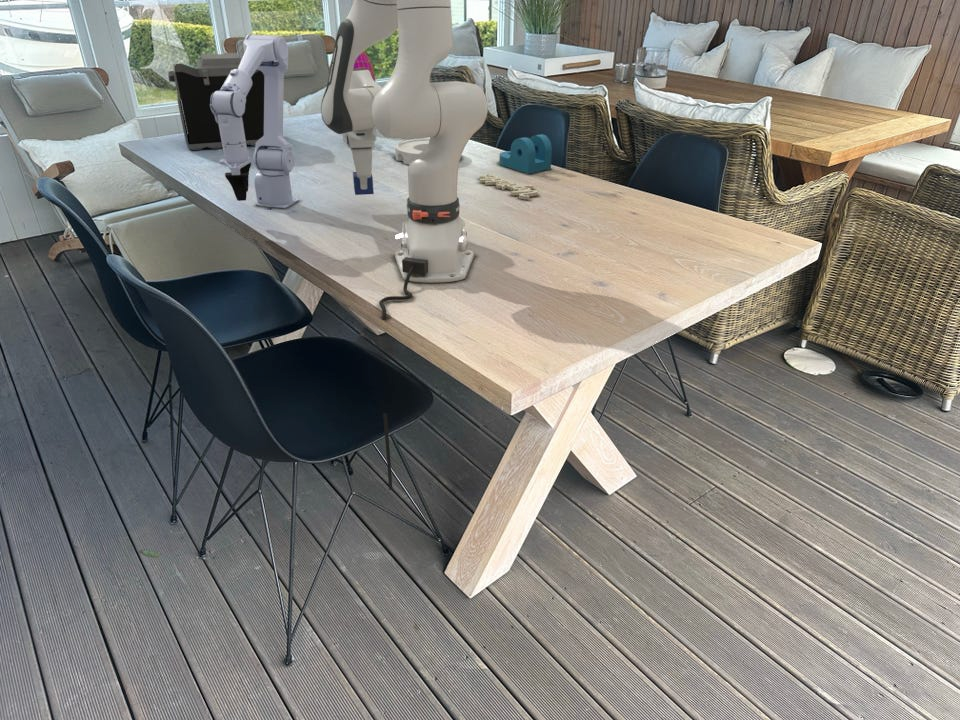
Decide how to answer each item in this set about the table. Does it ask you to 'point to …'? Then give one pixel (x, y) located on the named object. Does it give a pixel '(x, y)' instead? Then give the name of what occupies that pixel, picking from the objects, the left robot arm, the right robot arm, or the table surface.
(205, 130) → the electronic device
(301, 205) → the table surface
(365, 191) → the block
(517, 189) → the decorative sign
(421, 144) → the ashtray
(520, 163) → the teal clevis bracket
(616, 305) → the table surface
